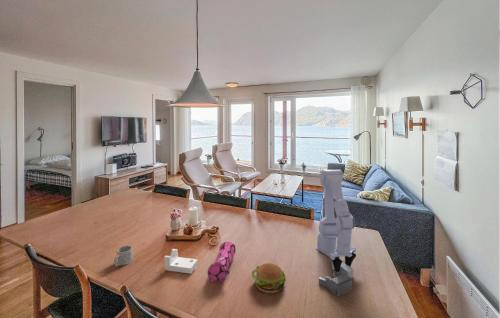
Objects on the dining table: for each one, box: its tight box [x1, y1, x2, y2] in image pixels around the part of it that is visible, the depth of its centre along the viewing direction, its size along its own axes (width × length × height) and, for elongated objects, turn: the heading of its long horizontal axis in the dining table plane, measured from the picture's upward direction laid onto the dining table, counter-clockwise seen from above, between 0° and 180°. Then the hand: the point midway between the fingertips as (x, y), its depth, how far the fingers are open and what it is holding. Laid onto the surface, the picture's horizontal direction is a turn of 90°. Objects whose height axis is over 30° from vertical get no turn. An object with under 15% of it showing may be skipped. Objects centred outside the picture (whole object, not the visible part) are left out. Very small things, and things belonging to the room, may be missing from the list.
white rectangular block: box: [331, 261, 355, 279], centre depth 106 cm, size 9×4×4 cm, turn 27°
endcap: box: [318, 270, 353, 298], centre depth 97 cm, size 10×10×5 cm
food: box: [251, 262, 286, 294], centre depth 98 cm, size 14×14×8 cm
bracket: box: [164, 248, 199, 274], centre depth 109 cm, size 13×7×8 cm, turn 77°
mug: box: [113, 245, 134, 267], centre depth 114 cm, size 10×7×7 cm, turn 168°
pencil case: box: [207, 241, 236, 283], centre depth 109 cm, size 21×10×10 cm, turn 174°
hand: (342, 269), depth 106 cm, fingers open, 6 cm apart
